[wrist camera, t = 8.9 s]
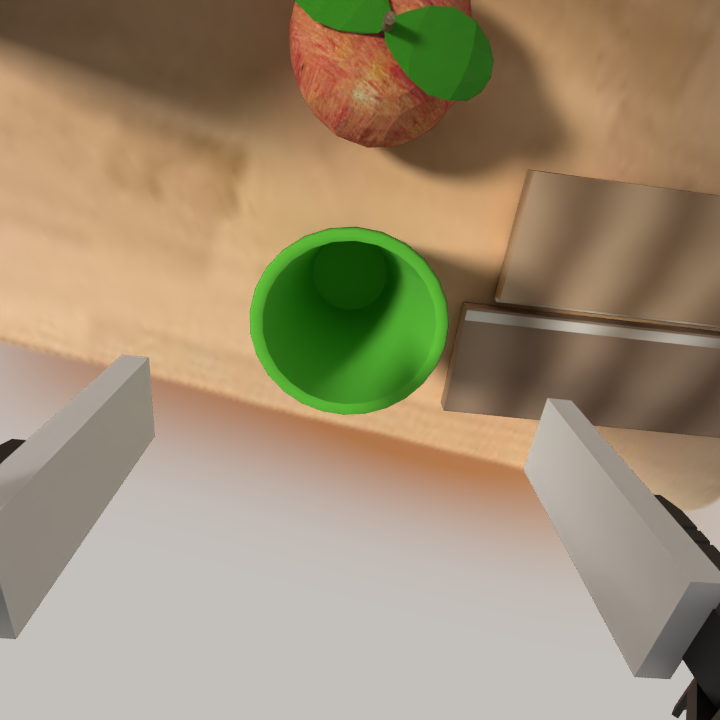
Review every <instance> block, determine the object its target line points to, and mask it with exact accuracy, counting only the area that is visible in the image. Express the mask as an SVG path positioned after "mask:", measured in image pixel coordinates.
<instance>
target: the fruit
mask: <svg viewBox="0 0 720 720" xmlns="http://www.w3.org/2000/svg"><path fill="white" fill-rule="evenodd" d="M289 35H290V56H291V62H292V67H293V71H294V74H295V77H296V80H297V83H298V86H299V89H300V92H301V95H302V96H303V98H304V99H305V101H306V102H307V104H308V105H309V107H310V108H311V110H312V112H313V113H314V115H315V116H316V117H317V118H318V119H319V120H320V121H321V122H322V123H323V124H325V125H326V126H327V127H328V128H329V129H330V130H331V131H332V132H333V133H334V134H335V135H337V136H339V137H341V138H344V139H347V140H349V141H352V142H354V143H357V144H360V145H363V146H365V147H382V146H397V145H402V144H404V143H406V142H408V141H411V140H413V139H415V138H417V137H419V136H420V135H422V134H424V133H425V132H427V131H429V130H430V129H432V128H433V127H434V126H435V125H436V124H437V123H438V122H439V120H440V119H441V118H442V117H443V115H444V114H445V113H446V112H447V111H448V109H449V108H450V107H451V106H452V105H453V103H454V102H455V101H467V100H469V99H470V98H472V97H474V96H475V95H477V94H479V93H480V92H482V90H483V89H484V87H485V86H486V84H487V82H488V81H489V79H490V78H491V72H492V65H493V57H492V53H491V48H490V44H489V41H488V39H487V37H486V36H485V34H484V33H483V31H482V30H481V28H480V27H479V25H478V24H477V22H476V21H474V20H473V19H472V13H471V4H470V0H295V3H294V7H293V12H292V16H291V21H290V26H289Z"/></svg>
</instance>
